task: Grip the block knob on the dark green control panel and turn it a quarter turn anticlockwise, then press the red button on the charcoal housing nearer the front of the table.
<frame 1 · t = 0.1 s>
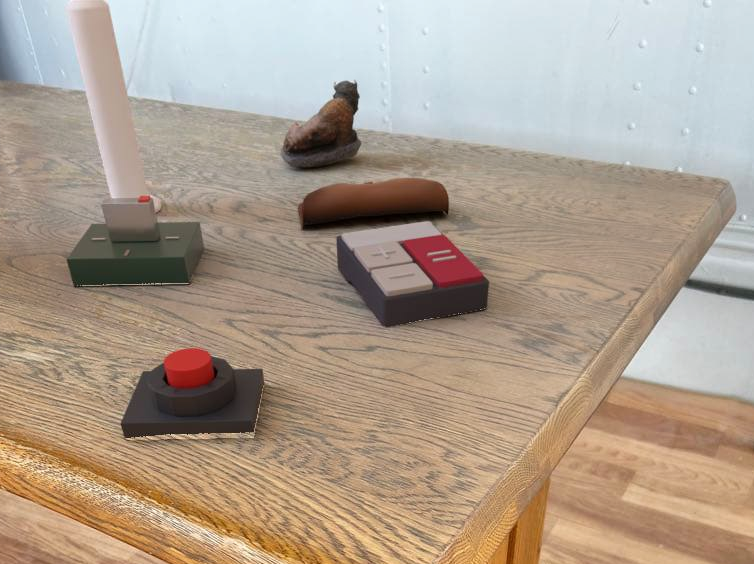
button box: (198, 412, 65), on the table
block knob: (131, 218, 84), point 5 cm above the table, hinge at 0.0°
calculator: (409, 290, 83), on the table
control panel: (142, 266, 88), on the table
sunglasses case: (370, 216, 100), on the table
animal figurine: (322, 165, 115), on the table
candle: (133, 211, 101), on the table
red button: (189, 369, 63), point 4 cm above the table, slide at 0.1 cm
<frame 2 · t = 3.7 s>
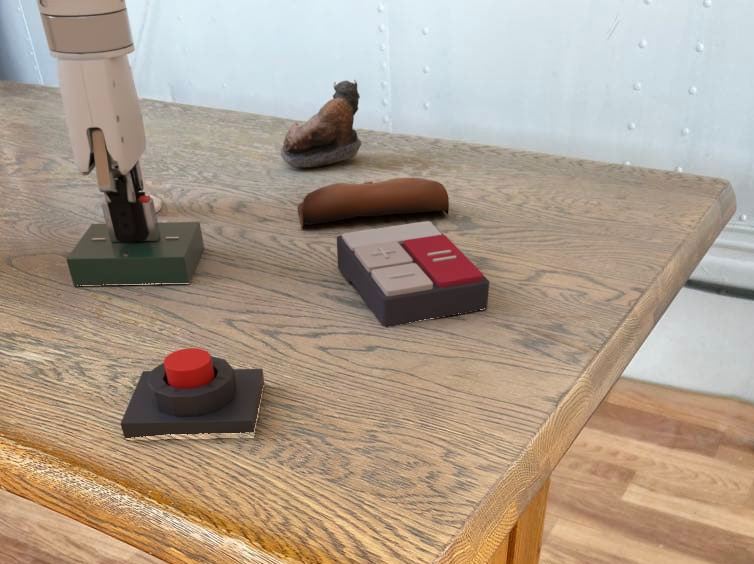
hand: (134, 234, 85), 4 cm above the table, tool pointing down, fingers closed on block knob
block knob: (131, 218, 84), point 5 cm above the table, hinge at 0.0°, touching gripper
everything else where it was.
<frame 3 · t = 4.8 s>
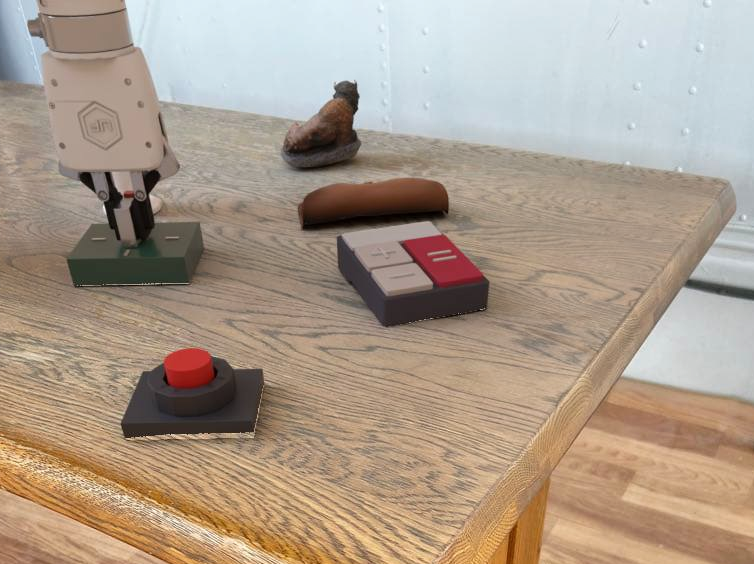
hand: (134, 234, 85), 4 cm above the table, tool pointing down, fingers closed on block knob
block knob: (131, 218, 84), point 5 cm above the table, hinge at 89.5°, touching gripper
everything else where it was.
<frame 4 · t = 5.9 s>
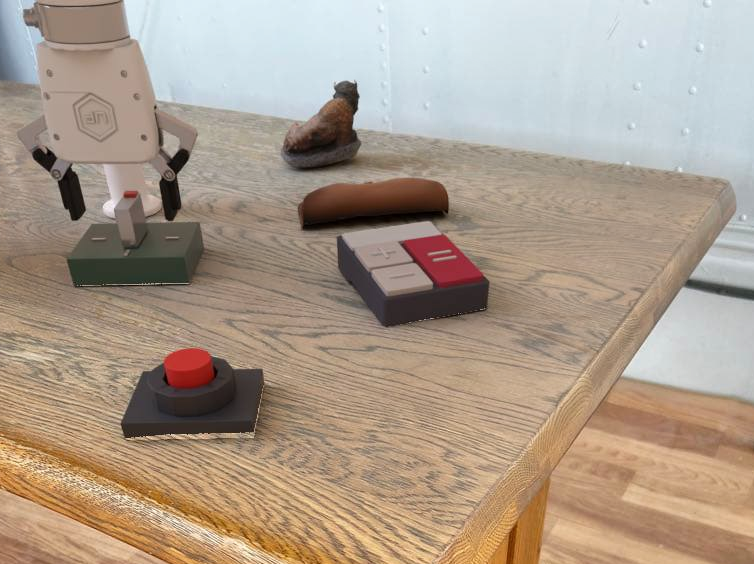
hand: (125, 216, 84), 5 cm above the table, tool pointing down, fingers open, 9 cm apart
block knob: (131, 218, 84), point 5 cm above the table, hinge at 89.6°
everything else where it was.
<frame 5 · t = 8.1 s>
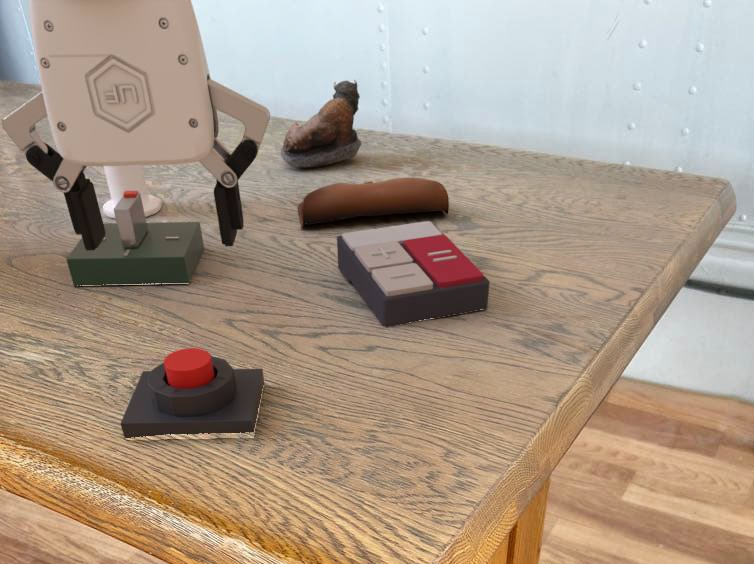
hand: (163, 241, 58), 13 cm above the table, tool pointing down, fingers open, 9 cm apart
nothing on the table moved.
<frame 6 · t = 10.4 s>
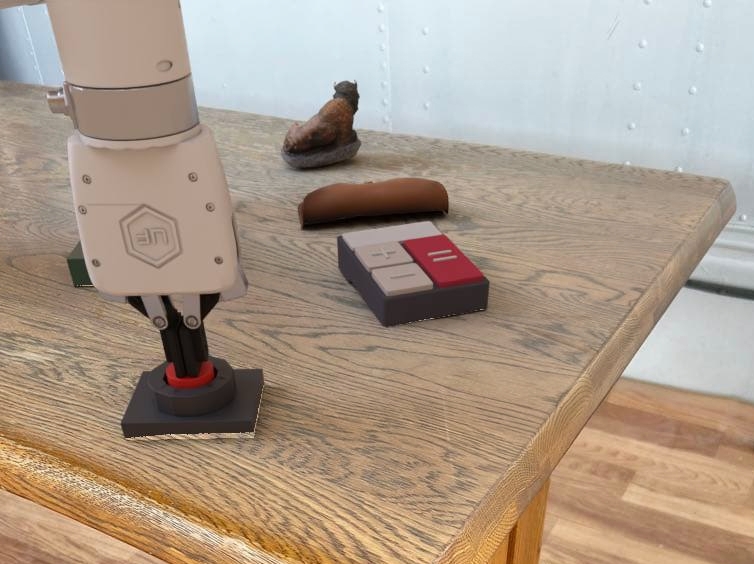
hand: (190, 368, 63), 4 cm above the table, tool pointing down, fingers closed
red button: (191, 378, 63), point 3 cm above the table, slide at -0.7 cm, touching gripper
everything else where it was.
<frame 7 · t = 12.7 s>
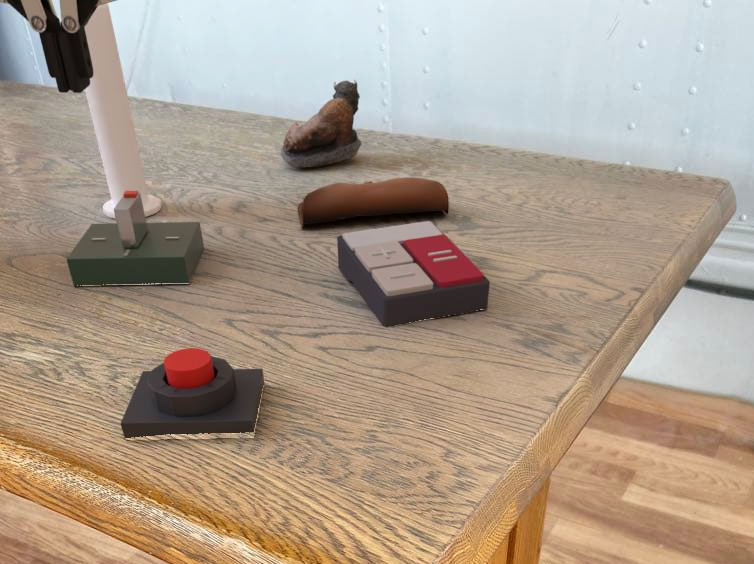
hand: (75, 88, 63), 20 cm above the table, tool pointing down, fingers closed
red button: (189, 369, 63), point 4 cm above the table, slide at 0.1 cm
everything else where it was.
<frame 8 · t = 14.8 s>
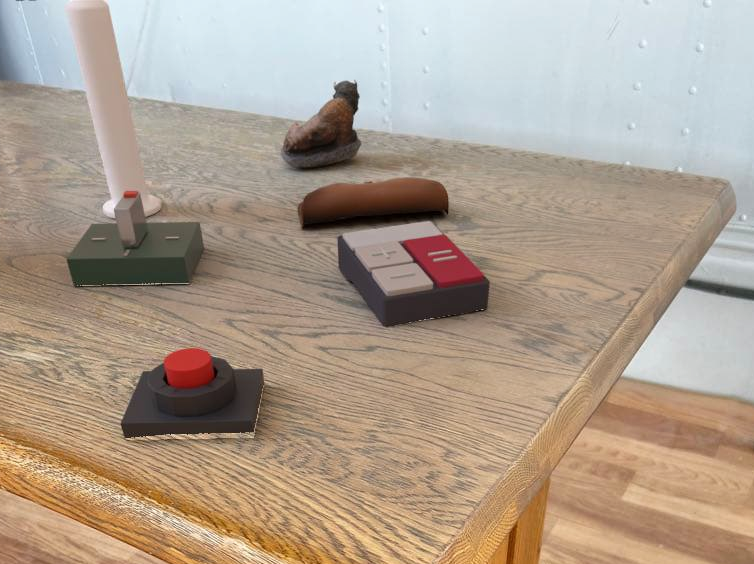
nothing on the table moved.
at the end: block knob at +90° (first picture: +0°); red button pushed in 1.0 cm at the most during the clip, back to where it started at the end; red button slide at 0.1 cm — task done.
